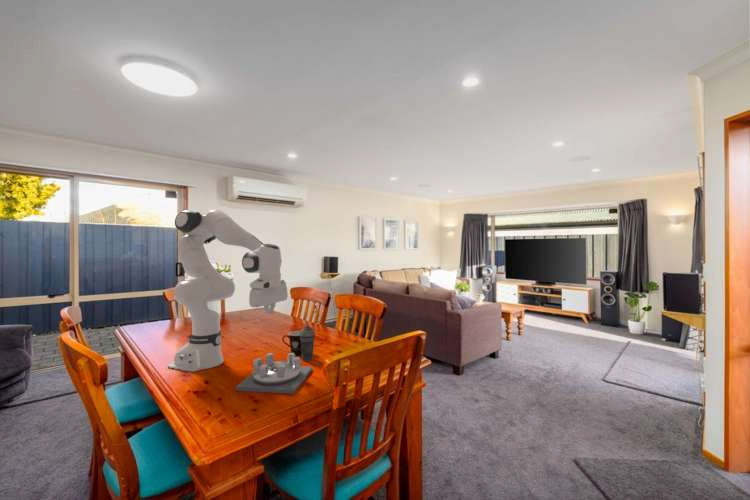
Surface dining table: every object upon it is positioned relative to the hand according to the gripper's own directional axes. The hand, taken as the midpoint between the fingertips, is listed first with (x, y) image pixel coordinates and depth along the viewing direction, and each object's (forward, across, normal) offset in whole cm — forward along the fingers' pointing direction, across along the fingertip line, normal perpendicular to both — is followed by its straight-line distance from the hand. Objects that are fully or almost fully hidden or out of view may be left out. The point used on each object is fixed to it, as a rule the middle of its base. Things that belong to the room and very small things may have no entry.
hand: (269, 313), depth 137 cm
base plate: (+24, +7, +10) cm, 27 cm away
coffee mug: (+25, -23, -3) cm, 34 cm away
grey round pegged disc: (+22, +7, +10) cm, 25 cm away
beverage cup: (+24, -17, +8) cm, 31 cm away
